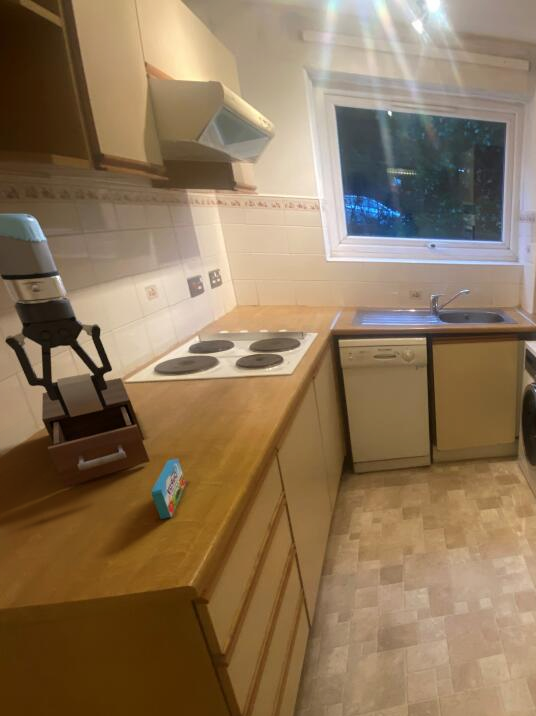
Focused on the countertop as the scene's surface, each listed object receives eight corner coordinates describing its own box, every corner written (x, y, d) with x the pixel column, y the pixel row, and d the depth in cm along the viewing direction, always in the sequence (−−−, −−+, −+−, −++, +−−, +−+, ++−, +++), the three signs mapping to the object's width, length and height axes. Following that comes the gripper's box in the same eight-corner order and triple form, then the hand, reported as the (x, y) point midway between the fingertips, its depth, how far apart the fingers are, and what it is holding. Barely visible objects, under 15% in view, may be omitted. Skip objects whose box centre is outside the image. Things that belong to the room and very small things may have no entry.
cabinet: (144, 439, 107) (130, 399, 103) (61, 462, 97) (42, 419, 93) (133, 413, 120) (120, 377, 116) (59, 431, 110) (42, 393, 106)
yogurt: (171, 518, 80) (161, 490, 78) (161, 520, 80) (150, 492, 77) (185, 483, 90) (177, 457, 88) (177, 484, 90) (168, 459, 87)
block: (71, 417, 89) (57, 385, 86) (70, 409, 92) (57, 379, 89) (103, 409, 92) (91, 379, 89) (101, 402, 95) (89, 373, 93)
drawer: (154, 472, 92) (140, 435, 89) (66, 499, 83) (47, 460, 80) (138, 432, 108) (126, 400, 105) (63, 452, 99) (47, 417, 96)
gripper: (-33, 310, 75) (24, 428, 84) (104, 296, 87) (142, 401, 95) (-28, 303, 80) (25, 416, 89) (101, 291, 91) (137, 391, 100)
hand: (86, 408), depth 92 cm, fingers closed on block, 5 cm apart
